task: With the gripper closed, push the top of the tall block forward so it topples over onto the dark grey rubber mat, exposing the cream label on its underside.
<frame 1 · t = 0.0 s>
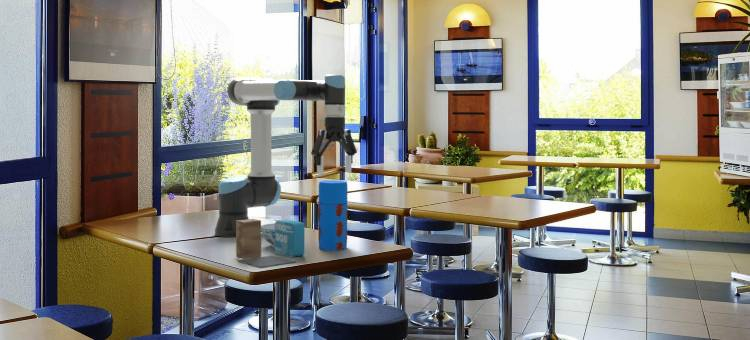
hand: (334, 173, 287), 28 cm above the table, fingers open, 13 cm apart
block: (248, 257, 269), on the table
thermos: (332, 248, 288), on the table
data package: (289, 255, 275), on the table
chinaware: (280, 246, 291), on the table
mat: (266, 261, 261), on the table
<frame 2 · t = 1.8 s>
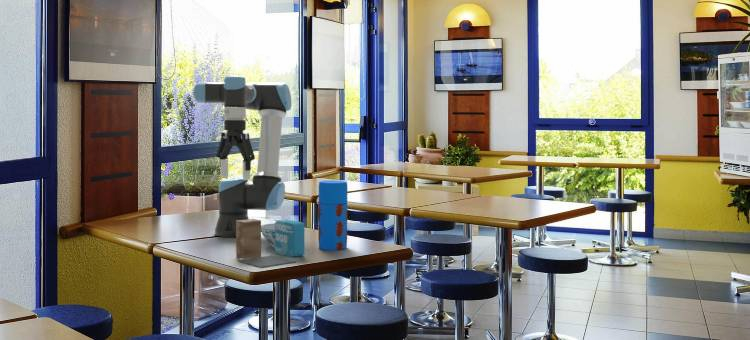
hand: (235, 178, 276), 27 cm above the table, fingers open, 13 cm apart
nothing on the table moved.
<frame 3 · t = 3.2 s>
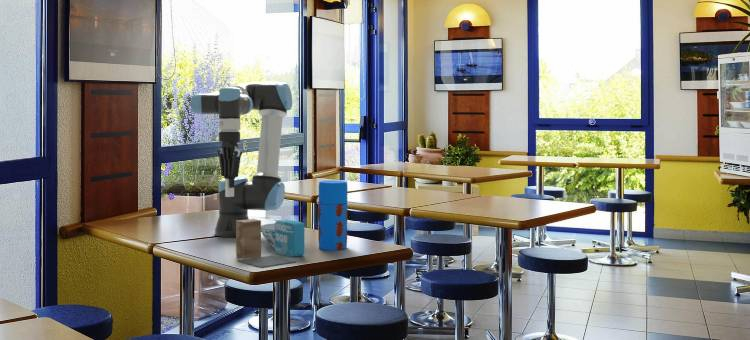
hand: (229, 196, 276), 20 cm above the table, fingers closed
nothing on the table moved.
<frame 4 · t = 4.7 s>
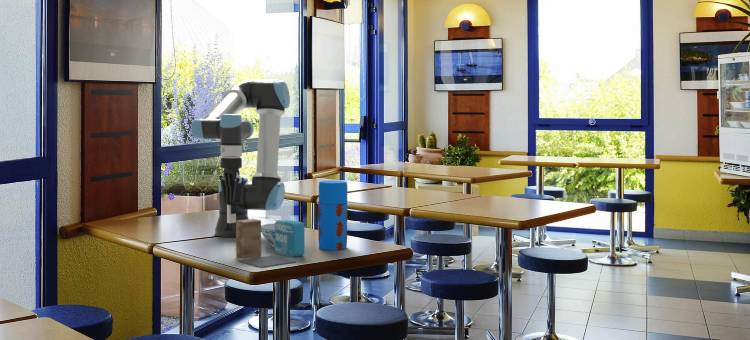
hand: (231, 222, 276), 11 cm above the table, fingers closed
nothing on the table moved.
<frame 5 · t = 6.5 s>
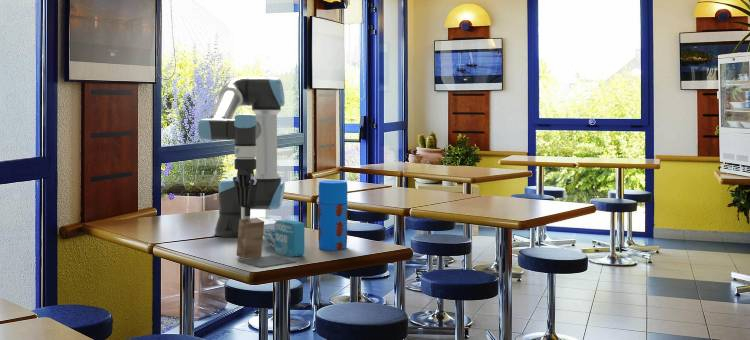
hand: (245, 225, 269), 11 cm above the table, fingers closed
block: (248, 256, 269), on the table, tilted 9°
everything else where it was.
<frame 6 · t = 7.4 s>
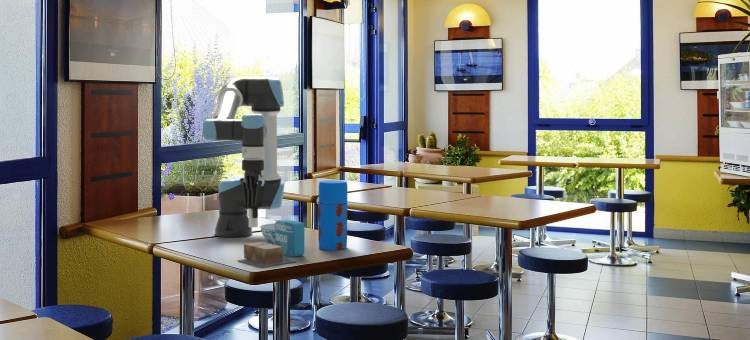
hand: (253, 226, 266), 11 cm above the table, fingers closed
block: (252, 249, 267), point 3 cm above the table, tilted 90°, touching mat
everything else where it was.
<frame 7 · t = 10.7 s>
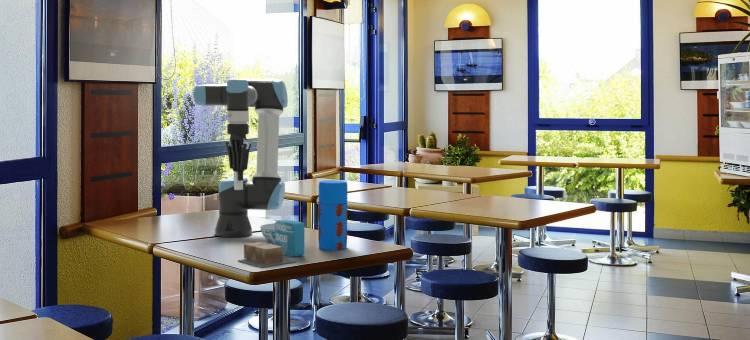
hand: (238, 189, 272), 23 cm above the table, fingers closed
nothing on the table moved.
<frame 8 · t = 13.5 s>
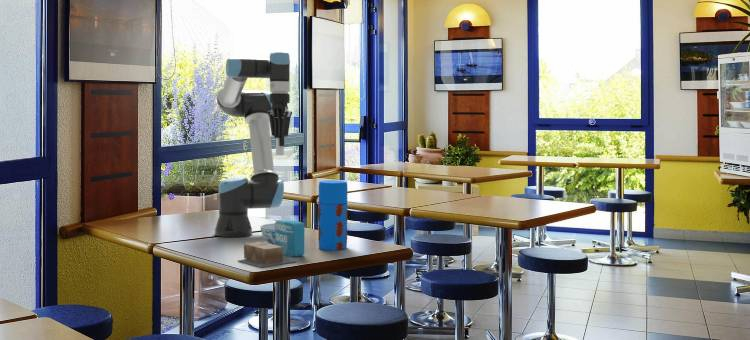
hand: (279, 154, 293), 34 cm above the table, fingers closed
nothing on the table moved.
at the end: block tilted 90°; block inside the target area (7.0 cm from its centre), point 2.9 cm above the table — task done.
